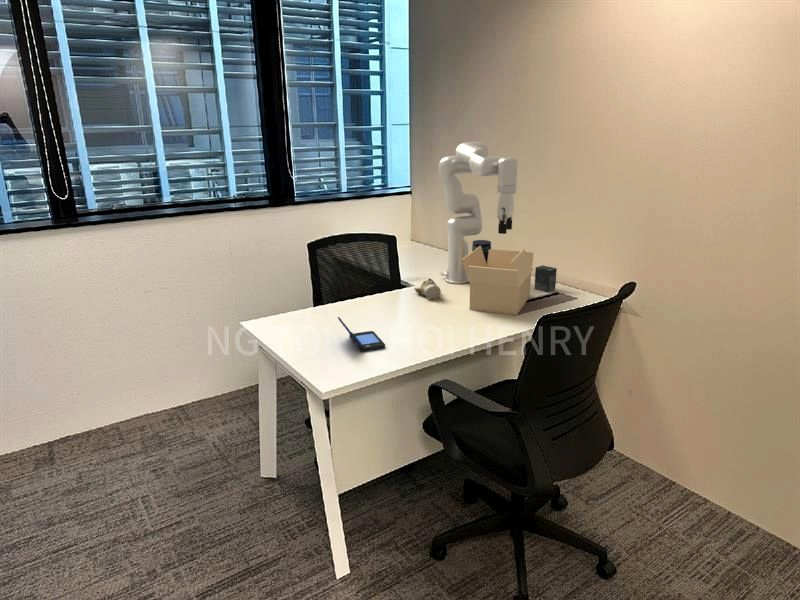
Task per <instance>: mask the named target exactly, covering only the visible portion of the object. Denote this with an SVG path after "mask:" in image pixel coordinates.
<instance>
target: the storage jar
mask: <svg viewBox="0 0 800 600" xmlns="http://www.w3.org/2000/svg"><path fill="white" fill-rule="evenodd" d="M471 245H472V246H471V252H472V251H474V250H475V249H476V248H478V247H479V246H481V248H482V251H483V254H484V257H485V260H486V264H487V261H488V253H489V249H492V242H491V240H487V239H476V240H473V241H472V243H471Z"/></svg>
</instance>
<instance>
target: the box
mask: <svg viewBox="0 0 800 600" xmlns="http://www.w3.org/2000/svg"><path fill="white" fill-rule="evenodd" d="M557 270H558V269H557V267H551V266H548V265H540V266H536V267H535V272H534V290H537V291H541V292H547V293H550V292H553V291H556V281H557Z"/></svg>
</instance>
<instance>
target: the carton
mask: <svg viewBox="0 0 800 600" xmlns="http://www.w3.org/2000/svg"><path fill="white" fill-rule="evenodd" d="M520 252H521V251H516V250H507V249H505V250H503V249H492V248H491V249H489V253H488V261H487V264H486V260H485V257H484V254H483V251H482V248H481V246H479V247H478V248H476V249H475V250H474V251H472V250H471V252H470V253H468V255H467V256H466V257H464V258H463V259H462V261H463V264H464V267H465V270H466V273H467V276H468V279H469V282H468V283H469V307H468V309H469V310H471V311H478V312H479V311H480V312H486V313H487V312H488V313H494V314H502V313H503V315H510V314H512V316H518V315H519V313H520V312H521V311H522V310H523V307H524V306H525V304H526V303H527V301H528V300H529V299H530V298H531V297H530V296H531V285H532V282H531V281H532V272H531V273H530V275H529V276H528V277H527V278H526V280H525V281H524V282H523V284H522V285H521V286H519V278H518V270H513V269H512V267H511V264H510V263H511V262H512V261H513V260H514V259H515V258H516V257H517V255H518V254H519V253H520ZM526 254H527V256H528V259H529V261H530V264H531V266H532V267H533V261H534V254H535V253H534V252H532V251H531V252H530V251H529V252H528V251H526Z"/></svg>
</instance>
